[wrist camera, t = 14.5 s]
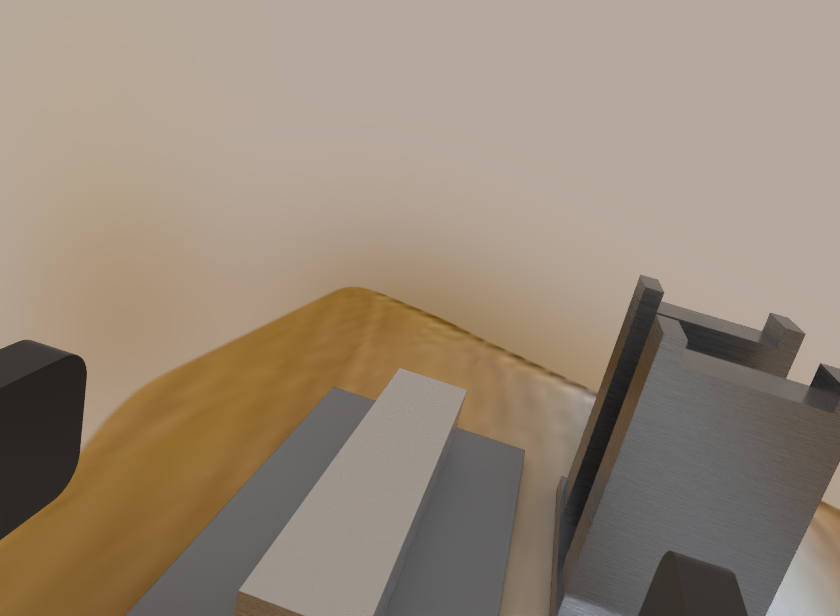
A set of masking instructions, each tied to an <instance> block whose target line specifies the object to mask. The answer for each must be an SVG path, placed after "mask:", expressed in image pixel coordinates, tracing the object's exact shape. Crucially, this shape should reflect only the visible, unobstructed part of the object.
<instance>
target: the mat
mask: <svg viewBox="0 0 840 616" xmlns="http://www.w3.org/2000/svg"><path fill="white" fill-rule="evenodd" d="M375 402H376V401H375V400H372V399H369V398H366V397H363V396H360V395H357V394H354V393H350V392H347V391H344V390H341V389H338V388H335V387H333V388H332V390H331V391H330V392H329V393H328V394H327V395H326V396H325V397H324V398H323V399H322V400H321V402H320V403H319V404H318V405H317V406H316V407H315V408H314V409H313V410H312V411H311V413H310V414H309V415H308V416H307V417H306V418H305V419H304V420H303V421H302V422H301V423H300V425H299V426H298V427H297V428H296V429H295V430H294V431H293V432H292V433H291V434H290V436H289V437H288V438H287V439H286V440H285V441H284V442H283V443H282V444H281V445H280V447H279V448H278V449H277V450H276V451H275V452H274V453H273V454H272V455H271V456H270V457H269V459H268V460H267V461H266V462H265V463H264V464H263V465H262V466H261V467H260V468H259V470H258V471H257V472H256V473H255V474H254V475H253V476H252V477H251V478H250V479H249V481H248V482H247V483H246V484H245V485H244V486H243V487H242V488H241V489H240V490H239V491H238V493H237V494H236V495H235V496H234V497H233V498H232V499H231V500H230V501H229V502H228V504H227V505H226V506H225V507H224V508H223V509H222V510H221V511H220V512H219V513H218V514H217V516H216V517H215V518H214V519H213V520H212V521H211V522H210V523H209V524H208V525H207V527H206V528H205V529H204V530H203V531H202V532H201V533H200V534H199V535H198V536H197V538H196V539H195V540H194V541H193V542H192V543H191V544H190V545H189V546H188V547H187V548H186V550H185V551H184V552H183V553H182V554H181V555H180V556H179V557H178V558H177V559H176V561H175V562H174V563H173V564H172V565H171V566H170V567H169V568H168V569H167V570H166V571H165V573H164V574H163V575H162V576H161V577H160V578H159V579H158V580H157V581H156V582H155V584H154V585H153V586H152V587H151V588H150V589H149V590H148V591H147V592H146V593H145V595H144V596H143V597H142V598H141V599H140V600H139V601H138V602H137V603H136V604H135V605H134V607H133V608H132V609H131V610H130V611H129V612H128V613H127V614H126V615H125V616H233V614H234V610H235V605H236V600H237V596H238V591H239V589H240V588H241V587H242V585H243V584H244V582H245V581H246V580H247V578H248V577H249V576H250V574H251V573H252V571H253V570H254V569H255V567H256V566H257V564H258V563H259V562H260V560H261V559H262V558H263V556H264V555H265V553H266V552H267V551H268V549H269V548H270V547H271V545H272V544H273V542H274V541H275V540H276V538H277V537H278V536H279V534H280V533H281V531H282V530H283V529H284V527H285V526H286V524H287V523H288V522H289V520H290V519H291V518H292V516H293V515H294V513H295V512H296V511H297V509H298V508H299V507H300V505H301V504H302V502H303V501H304V500H305V498H306V497H307V496H308V494H309V493H310V491H311V490H312V489H313V487H314V486H315V484H316V483H317V482H318V480H319V479H320V478H321V476H322V475H323V473H324V472H325V471H326V469H327V468H328V467H329V465H330V464H331V462H332V461H333V460H334V458H335V457H336V456H337V454H338V453H339V451H340V450H341V449H342V447H343V446H344V444H345V443H346V442H347V440H348V439H349V438H350V436H351V435H352V433H353V432H354V431H355V429H356V428H357V427H358V425H359V424H360V422H361V421H362V420H363V418H364V417H365V415H366V414H367V413H368V411H369V410H370V409H371V407H372V406H373V404H374V403H375ZM524 454H525V450H523V449H520V448H517V447H514V446H511V445H508V444H505V443H502V442H499V441H496V440H493V439H490V438H487V437H484V436H481V435H478V434H474V433H471V432H468V431H465V430H462V429H459V428H456V429H455V433H454V436H453V439H452V443H451V446H450V449H449V453H448V455H447V458H446V460H445V463H444V465H443V468H442V470H441V473H440V475H439V478H438V480H437V483H436V485H435V488H434V490H433V493H432V496H431V498H430V501H429V503H428V506H427V508H426V511H425V513H424V516H423V518H422V521H421V523H420V526H419V528H418V531H417V534H416V536H415V539H414V541H413V544H412V546H411V549H410V551H409V554H408V556H407V559H406V561H405V564H404V566H403V569H402V571H401V574H400V577H399V579H398V582H397V584H396V587H395V589H394V592H393V594H392V597H391V599H390V602H389V604H388V607H387V609H386V612H385V615H384V616H499V609H500V603H501V597H502V591H503V584H504V578H505V572H506V566H507V559H508V553H509V547H510V541H511V535H512V528H513V522H514V516H515V510H516V503H517V497H518V491H519V485H520V479H521V472H522V466H523V460H524Z"/></svg>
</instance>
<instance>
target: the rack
mask: <svg viewBox="0 0 840 616" xmlns="http://www.w3.org/2000/svg"><path fill="white" fill-rule="evenodd" d="M663 294H664V291H663V289H662V287H661V285H660V283H659V281H658V280H657V279H653V278H650V277H646V276H643V275H640V277H639V280H638V283H637V286H636V288H635V291H634V294H633V297H632V300H631V302H630V305H629V308H628V312H627V314H626V316H625V319H624V322H623V325H622V328H621V330H620V333H619V336H618V339H617V342H616V344H615V347H614V350H613V353H612V356H611V358H610V361H609V364H608V367H607V369H606V372H605V375H604V378H603V381H602V384H601V386H600V389H599V392H598V395H597V397H596V400H595V403H594V406H593V409H592V411H591V414H590V417H589V420H588V423H587V425H586V428H585V431H584V434H583V436H582V439H581V442H580V445H579V448H578V450H577V453H576V456H575V459H574V462H573V464H572V467H571V470H570V473H569V476H568V478H565V477H561V480H560V482H559V485H558V488H557V497H556V514H555V531H554V549H553V566H552V583H551V601H550V616H638V614H639V612H640V609H641V607H642V604H643V602H644V599H645V597H646V594H647V592H648V589H649V587H650V584H651V582H652V579H653V577H654V574H655V572H656V569H657V567H658V565H659V562H660V561H661V559H662V557H663V556H664V554H665V553H666V552H668V551H674V552H677V553H680V554H683V555H686V556H689V557H692V558H695V559H698V560H701V561H704V562H707V563H710V564H714V565H717V566H720V567H723V568H726V569H729V570H731V571H733V573H734V574H735V576H736V579H737V582H738V585H739V588H740V591H741V595H742V598H743V601H744V604H745V607H746V611H747V614H748V616H765V615H766V613H767V611H768V609H769V607H770V605H771V603H772V601H773V598H774V596H775V594H776V592H777V590H778V588H779V586H780V584H781V582H782V580H783V578H784V576H785V574H786V572H787V569H788V567H789V565H790V563H791V561H792V559H793V557H794V555H795V553H796V551H797V549H798V547H799V545H800V543H801V540H802V538H803V536H804V534H805V532H806V530H807V528H808V526H809V524H810V522H811V520H812V518H813V516H814V514H815V511H816V509H817V507H818V505H819V503H820V501H821V499H822V497H823V495H824V492H825V491H826V489H827V487H828V485H829V482H830V480H831V478H832V476H833V474H834V472H835V470H836V468H837V466H838V464H839V462H840V369H838V368H834V367H831V366H828V365H825V364H820V365H819V367H818V370H817V372H816V374H815V376H814V378H813V381H812V383H811V385H810V386H808V385H804V384H801V383H798V382H794V381H791V380H788V379H786V377H787V375H788V372H789V370H790V368H791V366H792V363H793V361H794V359H795V357H796V354H797V352H798V350H799V348H800V345H801V343H802V341H803V339H804V336H805V333H804V332H803V331H802V330H801V329H800V328H799V327H798V326H797V325H795V324H794V323H793V322H792V321H791V320H790V319H789V318H787V317H783V316H780V315H776V314H773V313H770V314H769V317H768V319H767V322H766V324H765V326H764V329H763V331H759V330H756V329H753V328H749V327H746V326H743V325H739V324H735V323H732V322H729V321H726V320H722V319H719V318H715V317H712V316H709V315H705V314H702V313H698V312H695V311H692V310H688V309H685V308H682V307H678V306H675V305H672V304H668V303H665V302H661V300H662V297H663Z"/></svg>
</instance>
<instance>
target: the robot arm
mask: <svg viewBox="0 0 840 616" xmlns="http://www.w3.org/2000/svg"><path fill="white" fill-rule="evenodd" d="M86 378H87V371H86V365H85V363H84V361H83V359H82V358H81V357H79V356H78V355H75V354H71V353H68V352H66V351H62V350H59V349H56V348H53V347H50V346H47V345H44V344H41V343H37V342H35V341H31V340H22V341H19V342H17V343H14V344H12V345H9V346H7V347H5V348H2V349H0V540H1V539H2V538H4V537H5V536H6V535H8V534H9V533H10V532H12V531H13V530H14V529H16V528H17V527H18V526H20V525H21V524H22V523H24V522H25V521H27V520H28V519H29V518H31V517H32V516H33V515H35V514H36V513H37V512H39V511H40V510H41V509H43V508H44V507H45V506H47V505H48V504H49V503H51V502H52V501H53V500H54V499H56V498H57V497H58V496H59V495H60V494H61V493H62V492H63V490H64V489H65V488H66V486H67V485H68V483H69V482H70V480H71V478H72V476H73V474H74V472H75V470H76V467H77V464H78V460H79V454H80V444H81V432H82V421H83V410H84V400H85V389H86ZM638 616H748V614H747V611H746V607H745V604H744V601H743V598H742V595H741V591H740V588H739V585H738V582H737V579H736V576H735V574H734V573H733V571H731V570H729V569H726V568H723V567H720V566H717V565H714V564H710V563H707V562H704V561H701V560H698V559H695V558H692V557H689V556H686V555H683V554H680V553H677V552H674V551H668V552H666V553H665V554H664V556H663V557H662V559H661V561H660V562H659V565H658V567H657V569H656V572H655V574H654V577H653V579H652V582H651V584H650V587H649V589H648V592H647V594H646V597H645V599H644V602H643V604H642V607H641V609H640V612H639V614H638Z"/></svg>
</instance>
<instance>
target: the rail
mask: <svg viewBox="0 0 840 616" xmlns="http://www.w3.org/2000/svg"><path fill="white" fill-rule="evenodd" d="M466 392H467V390H466V389H463V388H460V387H457V386H454V385H450V384H447V383H444V382H441V381H438V380H435V379H432V378H429V377H426V376H423V375H420V374H416V373H413V372H410V371H407V370H404V369H401V368H400V369H399V370H398V371H397V373H396V374H395V375H394V377H393V378H392V380H391V381H390V382H389V384H388V385H387V387H386V388H385V389H384V391H383V392H382V393H381V395H380V396H379V398H378V399H377V400H376V402H375V403H374V404H373V406H372V407H371V409H370V410H369V411H368V413H367V414H366V415H365V417H364V418H363V420H362V421H361V422H360V424H359V425H358V427H357V428H356V429H355V431H354V432H353V433H352V435H351V436H350V438H349V439H348V440H347V442H346V443H345V444H344V446H343V447H342V449H341V450H340V451H339V453H338V454H337V456H336V457H335V458H334V460H333V461H332V462H331V464H330V465H329V467H328V468H327V469H326V471H325V472H324V473H323V475H322V476H321V478H320V479H319V480H318V482H317V483H316V484H315V486H314V487H313V489H312V490H311V491H310V493H309V494H308V496H307V497H306V498H305V500H304V501H303V502H302V504H301V505H300V507H299V508H298V509H297V511H296V512H295V513H294V515H293V516H292V518H291V519H290V520H289V522H288V523H287V524H286V526H285V527H284V529H283V530H282V531H281V533H280V534H279V536H278V537H277V538H276V540H275V541H274V542H273V544H272V545H271V547H270V548H269V549H268V551H267V552H266V553H265V555H264V556H263V558H262V559H261V560H260V562H259V563H258V564H257V566H256V567H255V569H254V570H253V571H252V573H251V574H250V576H249V577H248V578H247V580H246V581H245V582H244V584H243V585H242V587H241V588H240V589H239V591H238V596H237V600H236V605H235V610H234V614H233V616H384V615H385V612H386V609H387V607H388V604H389V602H390V599H391V597H392V594H393V592H394V589H395V587H396V584H397V582H398V579H399V577H400V574H401V571H402V569H403V566H404V564H405V561H406V559H407V556H408V554H409V551H410V549H411V546H412V544H413V541H414V539H415V536H416V534H417V531H418V528H419V526H420V523H421V521H422V518H423V516H424V513H425V511H426V508H427V506H428V503H429V501H430V498H431V496H432V493H433V490H434V488H435V485H436V483H437V480H438V478H439V475H440V473H441V470H442V468H443V465H444V463H445V460H446V458H447V455H448V453H449V449H450V446H451V443H452V439H453V436H454V433H455V429H456V426H457V423H458V419H459V416H460V413H461V409H462V406H463V402H464V399H465V396H466Z"/></svg>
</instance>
